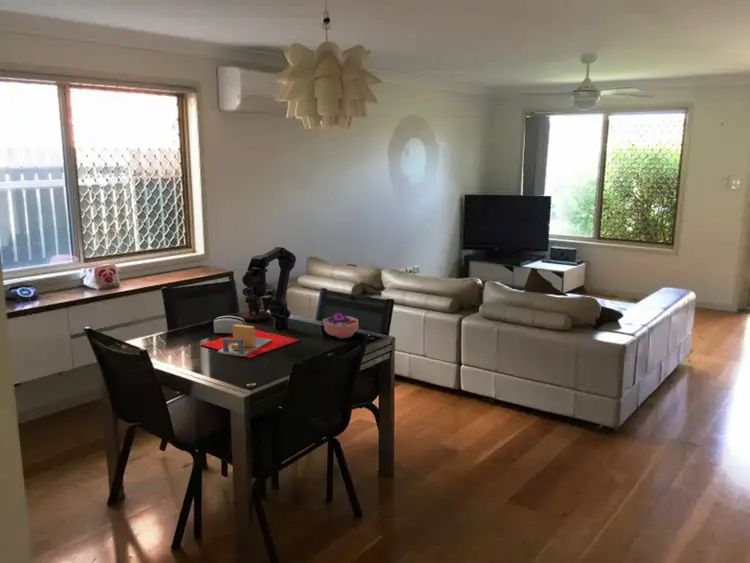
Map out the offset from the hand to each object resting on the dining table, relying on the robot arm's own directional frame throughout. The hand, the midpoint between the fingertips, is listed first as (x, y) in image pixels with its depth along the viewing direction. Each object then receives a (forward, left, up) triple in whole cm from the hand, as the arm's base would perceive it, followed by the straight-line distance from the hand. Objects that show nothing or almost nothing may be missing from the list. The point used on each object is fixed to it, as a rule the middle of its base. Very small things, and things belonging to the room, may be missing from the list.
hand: (261, 313), depth 311 cm
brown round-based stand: (-11, -33, -12) cm, 37 cm away
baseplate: (+13, +10, -12) cm, 20 cm away
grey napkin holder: (+10, -17, -12) cm, 23 cm away
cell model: (-32, +21, -12) cm, 40 cm away
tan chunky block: (+16, +12, -11) cm, 23 cm away
